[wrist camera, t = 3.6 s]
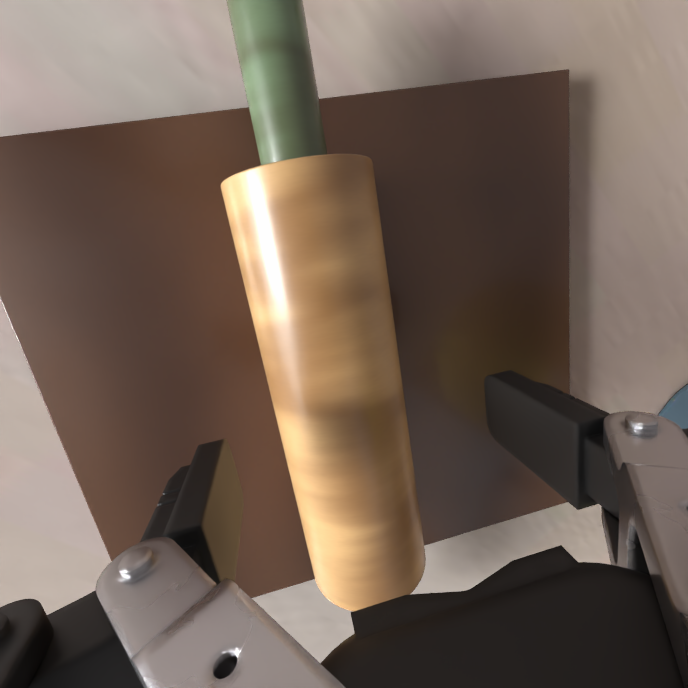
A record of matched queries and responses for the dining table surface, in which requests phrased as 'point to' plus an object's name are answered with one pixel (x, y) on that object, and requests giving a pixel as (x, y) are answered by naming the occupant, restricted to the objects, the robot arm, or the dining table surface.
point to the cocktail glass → (677, 408)
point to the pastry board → (235, 316)
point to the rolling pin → (323, 320)
